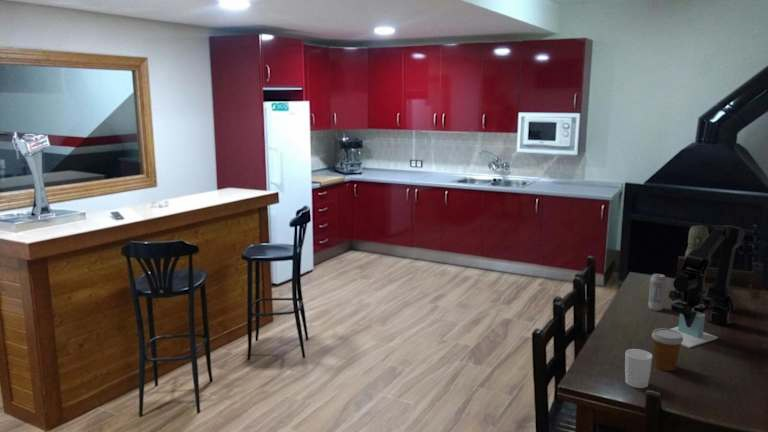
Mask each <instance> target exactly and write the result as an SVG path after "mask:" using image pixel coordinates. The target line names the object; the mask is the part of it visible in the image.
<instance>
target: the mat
mask: <svg viewBox="0 0 768 432" xmlns="http://www.w3.org/2000/svg"><path fill="white" fill-rule="evenodd" d="M678 328H679V325H677V326H675V327H672V328H670V329H671V330H675V331H677V332H679V333H681V334H682V338H683V341H682V343H681V346H683V347H686V348H689V349H691V348H694V347H696V346H699V345H700V346H701V345H703V344H706V343H709V342H711V341H714V340H717V339H718V338H719V337H718V336H716V335H714V334H710V333H708V332H704V331H703V337H700V338H696V337H693V336H691V335H688V334H685V333H682V332H680V331H678Z"/></svg>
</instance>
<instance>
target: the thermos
mask: <svg viewBox="0 0 768 432" xmlns="http://www.w3.org/2000/svg"><path fill="white" fill-rule="evenodd" d="M689 228H690V229H689V231H688V235H687V237H688V238H687V244H688V245H687V249H686V251H685V253H684V259H685V258H686V256H688V254H689V253H690V252H692V251H693V250H695V249H698V248H699V247H700V246H701V245H702V244H703V242H704V241H705V240H706V239H707V237H708V236H709V235H710V232H709V229H708V227H707V226H705V225H701V224H700V225H699V224H694V225H692V226H691V227H689ZM687 269H691V268H688V267H687ZM692 270H695V269H692ZM705 279H706V278H705ZM705 279H704V282H705ZM703 290H705V289H703ZM705 295H706V293H705V294H703V296H705ZM680 302H681V301H680ZM681 303H684V304H686V302H681Z"/></svg>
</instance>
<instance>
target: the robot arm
mask: <svg viewBox="0 0 768 432" xmlns="http://www.w3.org/2000/svg"><path fill="white" fill-rule="evenodd" d="M745 235H746V232H745V231H744V229H743V228H742V226H735V225H727V224H724V225H718V224H717V225H714V226H713V228H712V231H711V232H710V233H709V236H708V237H707V239H706V240H705V241H704V242H703V244H702V245H701V246H700V247H699V248H698V249H695V250H693V251H692V252H690V253H689V254H688V256H686V258H685V257H684V261H683V262H682V264H681V265H682V266H681V267H680V269H679V272H680V273H679V276H677V277H676V278H675V279H674V280H673V283H672V284H673V288H674V289H675V290H669V293H668V298H669V299H670V300H671V301H672V302H674V303H672V304H671V305H670V311H672V312H675V313H678V314H679V315H680V314H683V315H684V318H685V322H686V325H687V327H690V326H691V325H692V322H693V320H694V318H695V315H696V313H697V312H694V311H698V312H701V313H704V314H706V312H707V311H708V310H709V308H712V309H711V311H712V312H711V318H709V319H707V322H709V323H712V324H715V325H717V326H718V325H719V326H720V327H721V326H722V327H724V326H728V325H731V324H732V323H733V322H732V321H730V320H729V315H730V312H735V310H736V307H737V304H736V302H735V300H734V299H733V290H732V288H731V286H730V283H731V279H732V272H733V267H734V260H735V255H736V250H737V249H738V247H740V246H741V244H742V243H743V240H744V238H745ZM719 247H721V250H720V255H719V261H718V265H717V271H716V276H715V277H716V278H715V282H714V283H713V285H712V286H709V288H708V293H707V294H706V292H707V291H706V290H705V289H704V288H705V281H704V279H706V275H707V274H708V272H707V271H708V270H709V268H710V266H711V263H712V257H713V254H715V252H716V251H717V249H718V248H719ZM687 267H688V268H691V269H687ZM692 269H695V270H692ZM703 289H704V290H703ZM703 294H705V295H706V296H703ZM675 301H677V302H675ZM681 302H686V304H684V303H681ZM705 305H707V307H706V306H705ZM708 307H709V308H708Z"/></svg>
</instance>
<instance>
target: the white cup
mask: <svg viewBox="0 0 768 432" xmlns="http://www.w3.org/2000/svg"><path fill="white" fill-rule="evenodd" d="M653 358H654V355H653V354H652V353H651V352H649V351H647V350H644V349H639V348H630V349H629V348H628V349H627V350H625V353H624V374H625V378H624V381H625V384H626V385H628V386H630V387H632V388H637V389H644V388H647V387H648V386H649V383H650V382H649V381H650V377H651V370H652V365H653V364H652V363H653Z"/></svg>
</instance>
